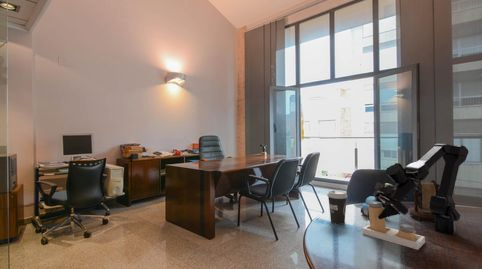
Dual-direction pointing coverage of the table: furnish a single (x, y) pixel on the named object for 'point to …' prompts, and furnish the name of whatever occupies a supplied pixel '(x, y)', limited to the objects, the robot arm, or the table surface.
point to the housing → (395, 237)
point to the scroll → (424, 200)
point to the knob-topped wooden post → (376, 217)
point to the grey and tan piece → (407, 232)
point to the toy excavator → (365, 206)
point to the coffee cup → (337, 206)
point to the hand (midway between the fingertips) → (375, 215)
